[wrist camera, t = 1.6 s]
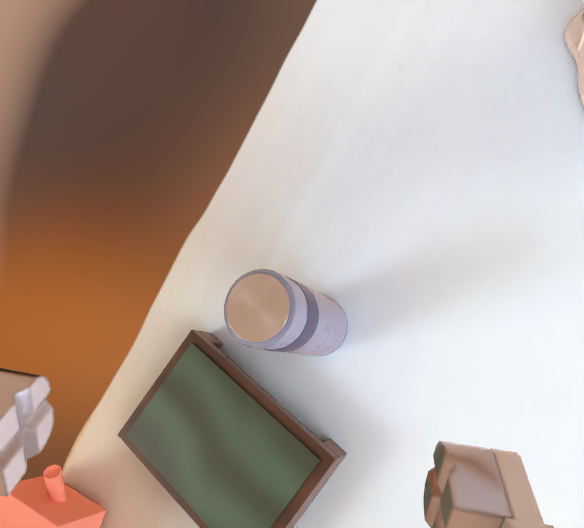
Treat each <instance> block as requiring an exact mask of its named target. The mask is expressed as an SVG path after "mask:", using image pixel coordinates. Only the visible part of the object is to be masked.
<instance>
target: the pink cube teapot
mask: <svg viewBox="0 0 584 528" xmlns="http://www.w3.org/2000/svg"><path fill="white" fill-rule="evenodd" d="M105 513H106V510H105V509H103V508H102V507H100V506H99V505H98V504H97V503H94V502H92V501H91V500H89V499H88V498H86V497H84V496H83V495H81V494H80V493H78V492H76V491H75V490H73V489H72V488H70V487H69V486H68V485H65V484H64V480H63V475H62V470H61V467H60V466H58V465H51V466H49V467H47V468H46V469H45V470H44V473H43V476H41V477H36V478H32V479H27V480H22V481H19V482H18V484H17V485H16V486H15V488H14V489H13V490H12V492H11V493H10V494H9V496H8V497H6V496H0V528H100V526H101V524H102V521H103V518H104V516H105Z"/></svg>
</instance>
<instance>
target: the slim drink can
mask: <svg viewBox="0 0 584 528" xmlns="http://www.w3.org/2000/svg"><path fill="white" fill-rule="evenodd" d="M224 317H225V322H226V325H227V327H228V329H229V331H230V333H231V334H232V336H233V337H234V338H235V339H236V340H237V341H239V342H240V343H242V344H243V345H246V346H248V347H252V348H259V349H264V350H269V351H277V352H290V353H298V354H306V355H313V356H323V355H327V354H330V353H332V352H333V351H335V350H336V349H337V348H338V347H339V346H340V345H341V344H342V342H343V341H344V339H345V336H346V333H347V318H346V315H345V313H344V311H343V309H342V308H341V306H340V305H339V304H338V303H336V302H335V301H334V300H332V299H330V298H328V297H326V296H324V295H322V294H320V293H317V292H315V291H313V290H311V289H309V288H307V287H306V286H304V285H302V284H301V283H299V282H297V281H295V280H293V279H291V278H288V277H286V276H283V275H281V274H279V273H277V272H274V271H271V270H266V269H259V270H254V271H250V272H248V273H246V274H244V275H243V276H241V277H240V278H239V279H238V280H237V281H236V282H235V283H234V284H233V285H232V287H231V288H230V290H229V292H228V294H227V297H226V300H225V304H224Z"/></svg>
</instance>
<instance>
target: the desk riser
mask: <svg viewBox="0 0 584 528" xmlns="http://www.w3.org/2000/svg"><path fill="white" fill-rule="evenodd" d="M222 344H223V343H222V342H220V341H219V340H218V339H217V338H216V337H215V336H214V335H213V334H211V333H209V332H203V331H196V330H191V332H190V333H189V335H188V336H187V337H186V339H185V340H184V342H183V343H182V344H181V346H180V347H179V349H178V350H177V352H176V353H175V354H174V356H173V357H172V359H171V360H170V361H169V363H168V364H167V366H166V367H165V369H164V370H163V371H162V373H161V374H160V376H159V377H158V378H157V380H156V381H155V383H154V384H153V386H152V387H151V388H150V390H149V391H148V393H147V394H146V396H145V397H144V398H143V400H142V401H141V403H140V404H139V405H138V407H137V408H136V410H135V411H134V413H133V414H132V415H131V417H130V418H129V420H128V421H127V422H126V424H125V425H124V427H123V428H122V430H121V431H120V432H119V434H118V436H119V437H120V438H121V439H122V441H123V442H124V443H125V444H126V445H127V446H128V447H129V448H130V450H131V451H132V452H133V453H134V454H135V455H136V456H137V457H138V458H139V460H140V461H141V462H142V463H143V464H144V465H145V466H146V467H147V469H148V470H149V471H150V472H151V473H152V474H153V475H154V476H155V478H156V479H157V480H158V481H159V482H160V483H161V484H162V485H163V487H164V488H165V489H166V490H167V491H168V492H169V493H170V494H171V496H172V497H173V498H174V499H175V500H176V501H177V502H178V503H179V504H180V506H181V507H182V508H183V509H184V510H185V511H186V512H187V513H188V515H189V516H190V517H191V518H192V519H193V520H194V521H195V522H196V524H197V525H198V526H199V527H200V528H293V527H294V525H295V524H296V523H297V521H298V520H299V519H300V517H301V516H302V514H303V513H304V512H305V510H306V509H307V508H308V506H309V505H310V504H311V502H312V501H313V499H314V498H315V497H316V495H317V494H318V493H319V491H320V490H321V488H322V487H323V486H324V484H325V483H326V482H327V480H328V479H329V478H330V476H331V475H332V473H333V472H334V471H335V469H336V468H337V467H338V465H339V464H340V462H341V461H342V460H343V458H344V457H345V456H346V454H347V453H346V452H345V451H343V450H342V449H341V448H340V447H339V446H338V445H337V444H336V443H334V442H333V441H332V440H331V439H330V440H327V441H325V442H322V441H321V440H319V439H318V438H317V437H316V436H315V435H314V434H313V433H312V432H311V431H309V430H308V429H307V428H306V427H305V426H304V425H303V424H302V423H300V422H299V421H298V420H297V419H296V418H295V417H294V416H293V415H292V414H290V413H289V412H288V411H287V410H286V409H285V408H284V407H283V406H282V405H280V404H279V403H278V402H277V401H276V400H275V399H274V398H273V397H272V396H270V395H269V394H268V393H267V392H266V391H265V390H264V389H263V388H261V387H260V386H259V385H258V384H257V383H256V382H255V381H254V380H253V379H251V378H250V377H249V376H248V375H247V374H246V373H245V372H244V371H243V370H241V369H240V368H239V367H238V366H237V365H236V364H235V363H234V362H232V361H231V360H230V359H229V358H228V357H227V356H226V355H225V354H224V353H222V352H221V351H220V350H219V349H220V347H221V346H222Z"/></svg>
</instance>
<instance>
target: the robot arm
mask: <svg viewBox="0 0 584 528" xmlns="http://www.w3.org/2000/svg"><path fill="white" fill-rule="evenodd" d="M564 38H565V42H566V45H567V47H568V49H569V51H570V52H571V54H572V56H573V57H574V59H575V60H576V63H577V68H578V88H579V94H580V98H581V102H582V104H583V107H584V9H583V10H582V11H581V12H580V13H579V14H577V15H576V16H575V17H574V18H573V19H572V20H571V22H570V23H569V24H568V26H567V29H566V31H565V35H564ZM50 392H51V390H50V385H49V379H47V378H46V377H44V376H40V375H35V374H29V373H24V372H19V371H14V370H9V369H4V368H0V496H6V497H8V496H9V494H10V493H11V492H12V490H13V489H14V488H15V486H16V485H17V484H18V482H19V481H20V480H21V478H22V477H23V475H24V474H25V473H26V471H27V460H28V459H30V458H31V457H33V456H35V455H37V454H39V453H40V452H41V451H42V449H43V448H44V447H45V445H46V444H47V442H48V440H49V437H50V434H51V432H52V429H53V424H54V411H53V407H52V406H51V405H50V404H49V403H48V401H47V400H46V399H45V398H46V397H47V396H48V394H49V393H50ZM433 456H434V463H435V467H434V468H433V469H431V470H430V471H428V475H427V479H426V483H425V490H424V515H425V521H426V522H427V523H428V525H429V526H430V527H431V528H554V527H553V526H551V525H546V524H544V522H543V519H542V517H541V514H540V511H539V508H538V505H537V502H536V500H535V497H534V494H533V491H532V488H531V485H530V483H529V480H528V477H527V474H526V471H525V468H524V466H523V463H522V460H521V457H520V456H519V455H518V454H517V453H516V452H510V451H503V450H497V449H488V448H482V447H475V446H469V445H462V444H456V443H450V442H443V441H439V442H438V444H437V445H436V448H435V451H434V455H433Z"/></svg>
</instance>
